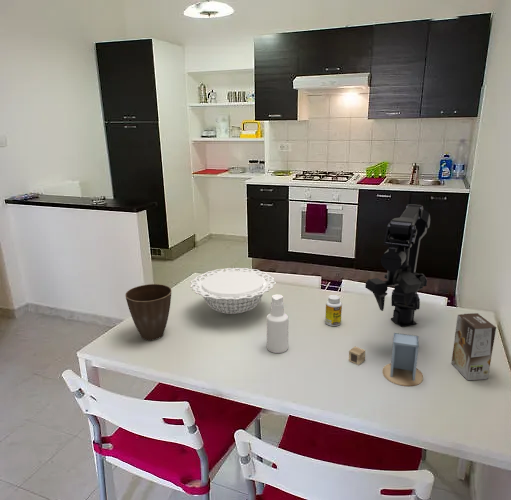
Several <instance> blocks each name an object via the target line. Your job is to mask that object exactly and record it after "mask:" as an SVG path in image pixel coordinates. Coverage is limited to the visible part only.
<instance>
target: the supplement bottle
mask: <svg viewBox="0 0 511 500" xmlns="http://www.w3.org/2000/svg"><path fill="white" fill-rule="evenodd" d="M327 298H328V299H327V301H326V302H325V317H324V318H325V321H324V322H325V324H326V325H328V326H331V327H337V326H339V325H340V324H341V323H342V311H343V310H342V309H343V308H342V306H343V303H342V302H341V297H340V296H339V295H336V294H330V295H328V297H327Z"/></svg>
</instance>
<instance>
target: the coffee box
mask: <svg viewBox="0 0 511 500" xmlns="http://www.w3.org/2000/svg"><path fill="white" fill-rule="evenodd" d="M496 330H497V327H496V326H495V325H494V324H493V323H491V322H490V321H488V320H487V319H486V318H485V317H483V316H482V315H480V314H479V313H476V312H475V313H473V312H472V313H462V314H457V318H456V327H455V332H454V333H455V334H454V341H453V349H452V357H451V364H452V366H453V367H454V368H456V370H457V371H458V372H459V373H460V374H461V375H462V376H463V377H464V378H465V379H466V380H467V381H477V380H488V379H489V373H490V367H491V362H492V356H493V349H494V343H495V339H496Z"/></svg>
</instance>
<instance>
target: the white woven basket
mask: <svg viewBox="0 0 511 500" xmlns="http://www.w3.org/2000/svg"><path fill="white" fill-rule="evenodd" d="M189 283H190V286H189V287H190V288H191V291H194V293H195V294H197V295H201V296H202V297H203V299H204V301H205V302H206V304H207V305H208V306H209V307H210V309H213V310H214V311H216V312H218V313H222V314H223V313H224V314H231V315H233V314H240V313H241V314H243V313H246V312H249V311H251V310H253V309H254V308H255V307H256V306H258V304H259V303H261V302H260V301H262V298H263V294H265V293H268V292H269V290H273V288H274V285H276V284H277V282H276V281H275V278H274V276H271V274H268V273H267V272H265V271H261V270H259V269H255V268H254V269H253V268H247V267H242V268H241V267H227V268H216V269H213V270H209V271H206V272H204V273H201V274H200V275H197V276H195V277H194V278H193V279H192V280H190V282H189Z"/></svg>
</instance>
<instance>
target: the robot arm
mask: <svg viewBox="0 0 511 500" xmlns="http://www.w3.org/2000/svg"><path fill="white" fill-rule="evenodd" d="M430 225H431V215H430V213H429V211H427V210H425V209H424V206H423V205H421V204H411V203H410V204H407V205H406V206H405V210H404V211H403V212H402V213H401V215H400V217H394V218H392V219H391V220H390V222H388V224H387V226H386V231H385V235H384V240H383V242H382V243H383V245H386V246H388V248H387V250H386V251H385V252H384V253H383V254H382V255H381V257H380V264H381V266H382V267H383V268H384V269H385V270H386V271H387V273H386V274H384V279H385V280H382V279H380V278H378V277H375V278H369V279H367V280H366V281H365V288H366V290H369V291H370V292H371V293H372V294H373V296H374V298H375V300H376V303H377V304H378V308H379V310H380V311H381V312H383V311H384V308H385V301H386V300H385V298H386V296H387V295H388V294H389V293H387V292H388V288H389V287H394V288H393V290H392V292H391V296H390V297H391V307H394V310H393V314H392V317H391V318H390V320H391V321H392V322H394V323H395V324H397V325H398V326H399V327H407V326H408V327H409V326H414V325H417V324H418V323H417V321H415V312H417V310H420V309H421V307H420V306H421V301H420V300H421V299H420V297H419V293H418V291H420V290H422V289H423V288H424V287H427V284H428V279H427V277H426V275H425V274H424V273H418V272H416V270H417V265H418V264H417V263H418V258H419V251H420V245H421V240H422V239H423V237H425V235H426V234H427V232H428V229H429V228H430Z"/></svg>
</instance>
